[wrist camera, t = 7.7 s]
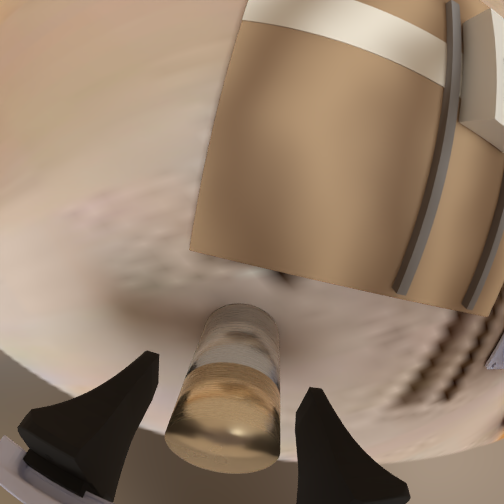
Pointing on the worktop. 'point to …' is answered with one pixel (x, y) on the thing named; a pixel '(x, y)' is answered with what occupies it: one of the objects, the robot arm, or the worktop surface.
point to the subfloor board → (355, 153)
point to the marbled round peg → (231, 395)
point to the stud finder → (484, 77)
